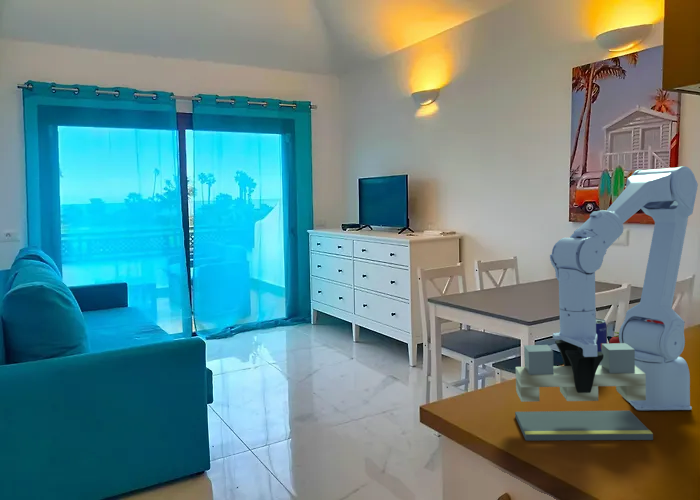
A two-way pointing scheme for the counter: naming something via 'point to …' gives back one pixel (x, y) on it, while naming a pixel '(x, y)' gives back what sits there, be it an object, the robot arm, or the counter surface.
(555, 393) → the counter surface
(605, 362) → the block
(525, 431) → the dock
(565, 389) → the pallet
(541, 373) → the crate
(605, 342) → the energy drink
